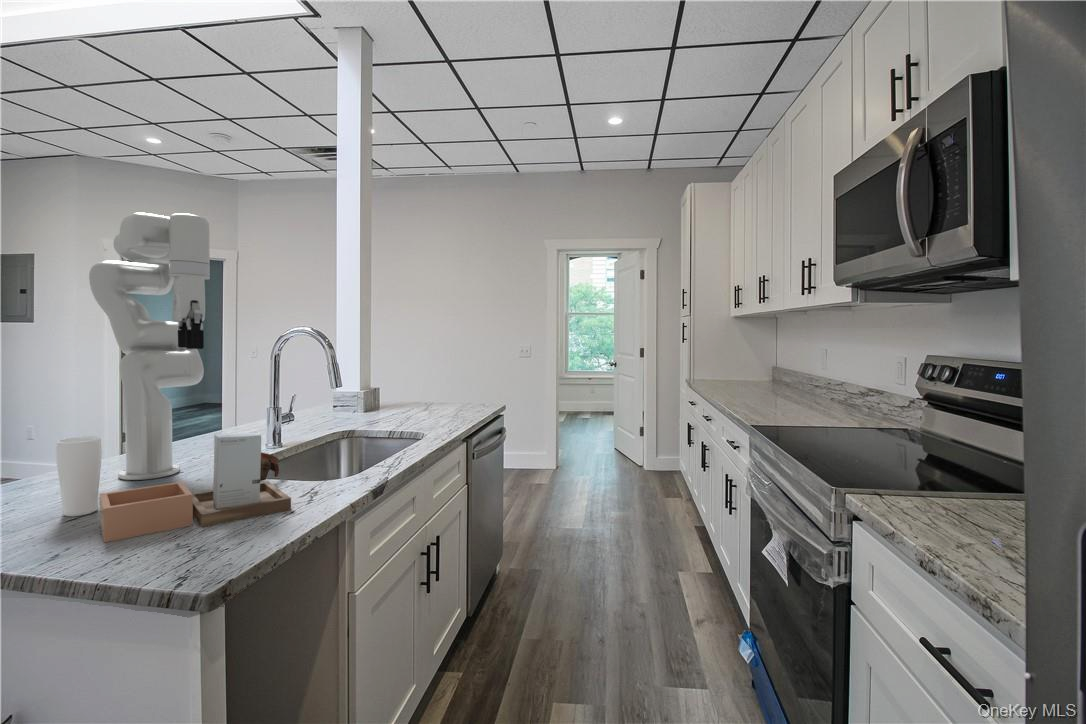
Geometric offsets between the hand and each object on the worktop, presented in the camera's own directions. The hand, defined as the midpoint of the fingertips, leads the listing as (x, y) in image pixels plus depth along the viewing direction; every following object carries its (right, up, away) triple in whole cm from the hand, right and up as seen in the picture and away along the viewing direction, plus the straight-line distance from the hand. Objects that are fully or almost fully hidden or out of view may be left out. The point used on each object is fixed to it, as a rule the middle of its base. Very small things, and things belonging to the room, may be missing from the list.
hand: (190, 348), depth 116 cm
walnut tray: (+15, -34, -7) cm, 38 cm away
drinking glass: (-14, -34, -12) cm, 39 cm away
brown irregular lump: (+8, -33, +13) cm, 37 cm away
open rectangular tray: (+4, -34, -17) cm, 39 cm away
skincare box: (+15, -33, -7) cm, 37 cm away
